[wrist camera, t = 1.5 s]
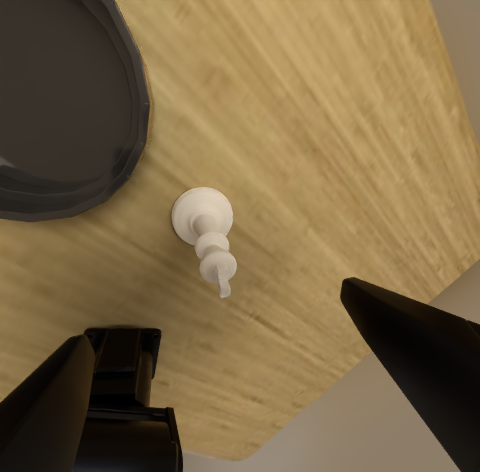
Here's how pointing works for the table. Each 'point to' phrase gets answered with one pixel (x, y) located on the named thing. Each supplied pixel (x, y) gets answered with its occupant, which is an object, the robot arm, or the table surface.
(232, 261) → the chess piece
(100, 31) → the pan
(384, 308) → the robot arm
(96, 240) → the table surface
